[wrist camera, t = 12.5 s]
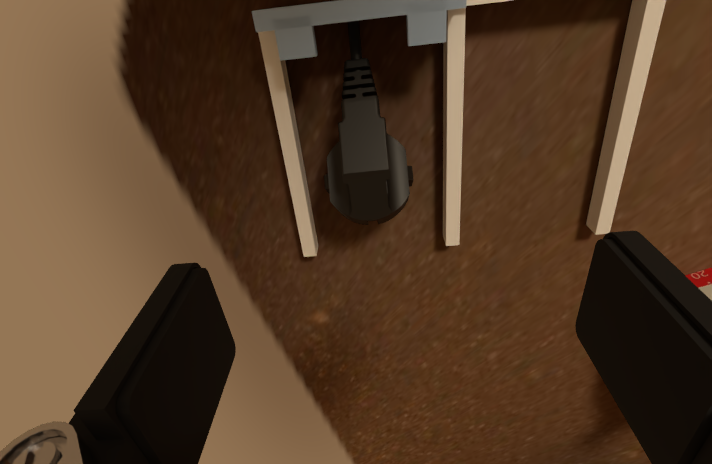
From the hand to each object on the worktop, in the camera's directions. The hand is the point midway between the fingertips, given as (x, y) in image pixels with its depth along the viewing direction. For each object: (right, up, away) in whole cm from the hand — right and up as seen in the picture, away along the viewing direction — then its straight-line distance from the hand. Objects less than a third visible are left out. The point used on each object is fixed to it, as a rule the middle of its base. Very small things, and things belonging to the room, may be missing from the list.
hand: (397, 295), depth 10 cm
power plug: (-1, +9, +18) cm, 20 cm away
